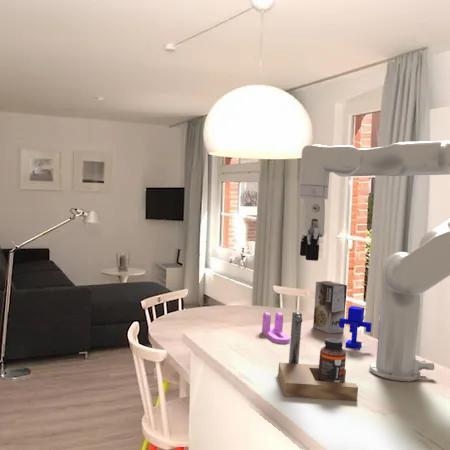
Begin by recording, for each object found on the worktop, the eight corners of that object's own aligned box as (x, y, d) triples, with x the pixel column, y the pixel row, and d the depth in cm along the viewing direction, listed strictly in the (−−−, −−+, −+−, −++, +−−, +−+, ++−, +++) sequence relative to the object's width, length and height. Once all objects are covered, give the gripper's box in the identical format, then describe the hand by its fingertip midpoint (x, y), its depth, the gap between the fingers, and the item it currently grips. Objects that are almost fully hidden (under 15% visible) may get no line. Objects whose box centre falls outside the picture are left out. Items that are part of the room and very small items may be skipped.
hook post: (299, 369, 132) (304, 311, 131) (303, 378, 125) (308, 317, 124) (284, 368, 132) (288, 310, 131) (287, 377, 125) (291, 316, 124)
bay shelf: (342, 378, 127) (343, 366, 127) (357, 400, 113) (358, 387, 113) (278, 374, 127) (279, 362, 127) (284, 396, 113) (285, 382, 113)
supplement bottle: (343, 394, 117) (347, 345, 116) (317, 390, 118) (320, 341, 117) (342, 384, 123) (346, 338, 122) (317, 381, 124) (321, 335, 123)
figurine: (349, 350, 152) (352, 310, 151) (336, 343, 159) (338, 305, 158) (371, 349, 154) (374, 310, 154) (357, 342, 161) (359, 304, 161)
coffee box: (344, 332, 173) (348, 285, 172) (329, 334, 170) (333, 285, 169) (326, 325, 181) (329, 280, 180) (312, 327, 178) (315, 280, 177)
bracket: (261, 332, 167) (263, 311, 166) (278, 332, 168) (279, 311, 168) (275, 344, 154) (276, 321, 154) (292, 344, 155) (294, 321, 155)
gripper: (334, 193, 126) (329, 263, 126) (321, 194, 143) (317, 255, 144) (304, 191, 126) (299, 261, 126) (294, 192, 143) (290, 253, 144)
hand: (308, 258), depth 135 cm, fingers open, 9 cm apart
